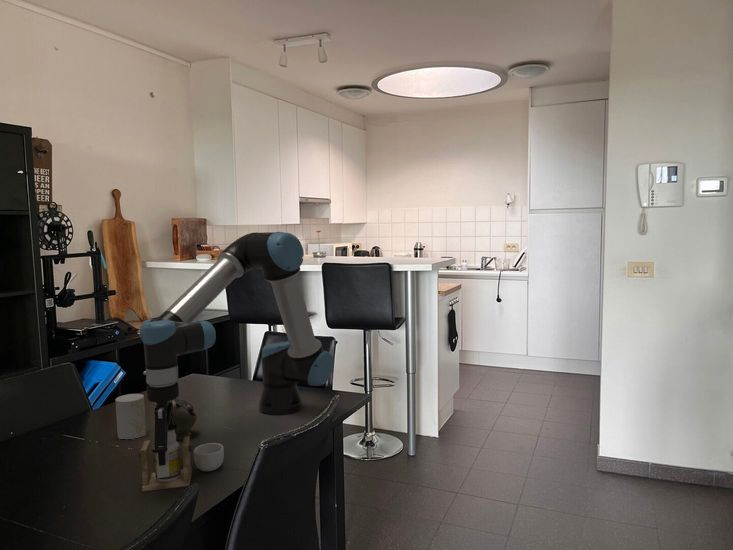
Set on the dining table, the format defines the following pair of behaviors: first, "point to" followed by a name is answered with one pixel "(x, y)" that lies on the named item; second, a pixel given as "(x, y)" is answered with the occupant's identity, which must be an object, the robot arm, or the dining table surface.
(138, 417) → the white cylinder
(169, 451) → the pill bottle
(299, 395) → the robot arm
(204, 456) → the teacup
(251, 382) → the dining table surface
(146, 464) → the holder
